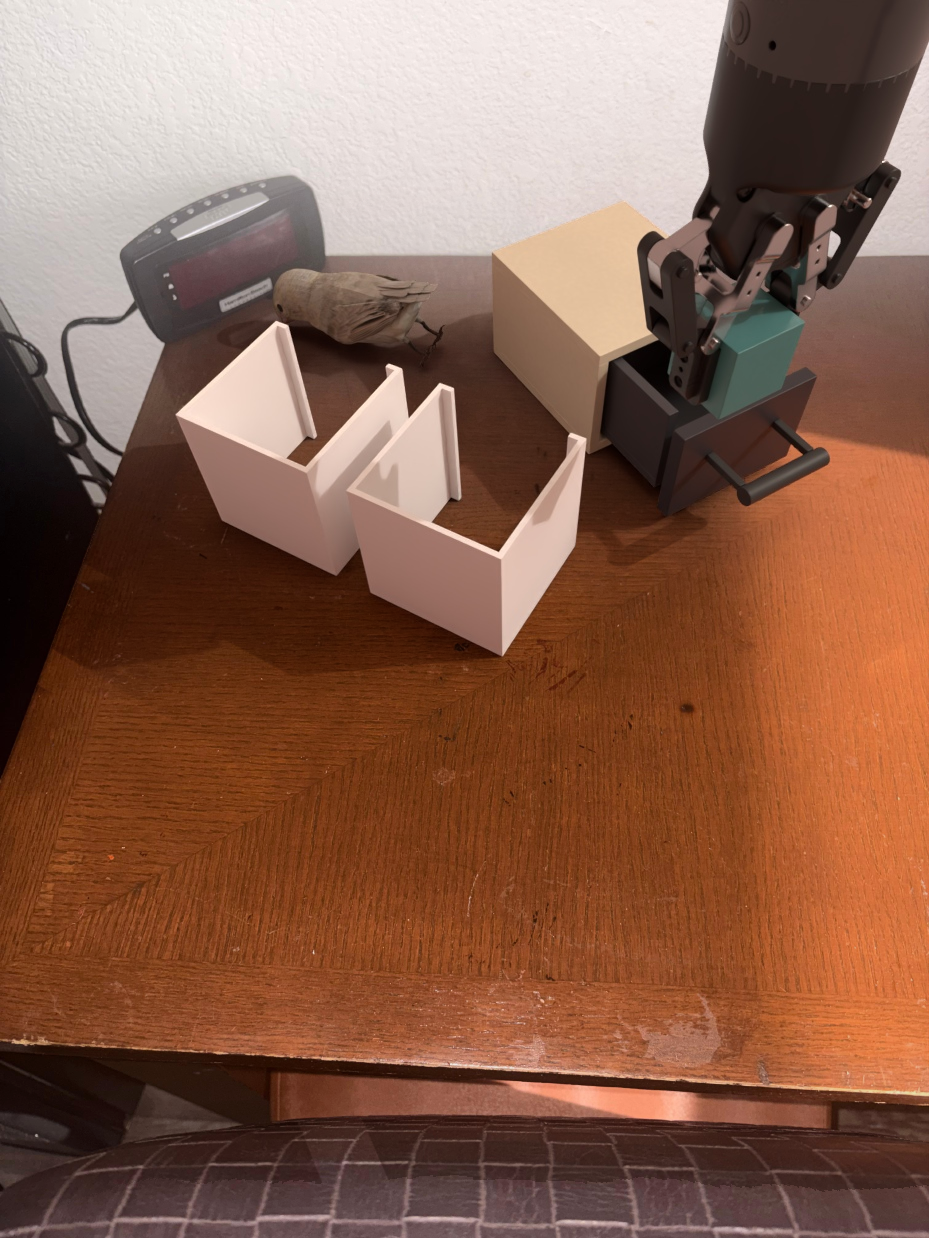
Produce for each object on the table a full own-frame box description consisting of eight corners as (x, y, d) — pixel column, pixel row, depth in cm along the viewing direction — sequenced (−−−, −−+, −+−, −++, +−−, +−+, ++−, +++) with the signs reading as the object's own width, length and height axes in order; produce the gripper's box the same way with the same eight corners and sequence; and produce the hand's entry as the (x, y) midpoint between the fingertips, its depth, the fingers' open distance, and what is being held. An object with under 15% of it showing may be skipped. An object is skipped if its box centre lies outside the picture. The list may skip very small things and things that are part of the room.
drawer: (832, 496, 63) (869, 417, 56) (708, 562, 60) (733, 487, 54) (677, 357, 72) (694, 276, 66) (563, 409, 69) (569, 329, 63)
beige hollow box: (715, 395, 71) (742, 293, 63) (588, 455, 68) (599, 356, 60) (611, 302, 78) (624, 200, 70) (493, 352, 75) (491, 251, 67)
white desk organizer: (221, 520, 66) (175, 414, 56) (306, 431, 71) (276, 320, 61) (502, 656, 58) (501, 559, 49) (575, 545, 63) (586, 438, 54)
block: (728, 344, 48) (747, 276, 45) (781, 389, 46) (806, 321, 42) (666, 373, 47) (680, 306, 43) (718, 420, 45) (737, 354, 41)
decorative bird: (296, 306, 80) (278, 232, 74) (453, 342, 76) (448, 268, 70) (268, 341, 77) (247, 268, 71) (429, 381, 73) (422, 308, 67)
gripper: (745, 125, 28) (663, 473, 43) (1037, 12, 32) (871, 368, 46) (613, 40, 32) (578, 387, 46) (889, -53, 36) (777, 296, 50)
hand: (725, 376), depth 46 cm, fingers closed on block, 4 cm apart
